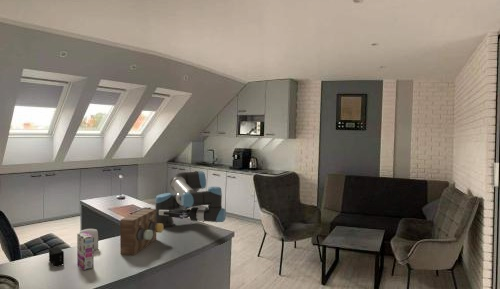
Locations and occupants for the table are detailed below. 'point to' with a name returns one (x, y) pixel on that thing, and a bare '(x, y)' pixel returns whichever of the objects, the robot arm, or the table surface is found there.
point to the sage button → (148, 234)
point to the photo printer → (93, 233)
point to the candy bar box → (85, 250)
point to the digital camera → (56, 256)
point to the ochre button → (159, 227)
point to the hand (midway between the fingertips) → (159, 212)
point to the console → (136, 231)
